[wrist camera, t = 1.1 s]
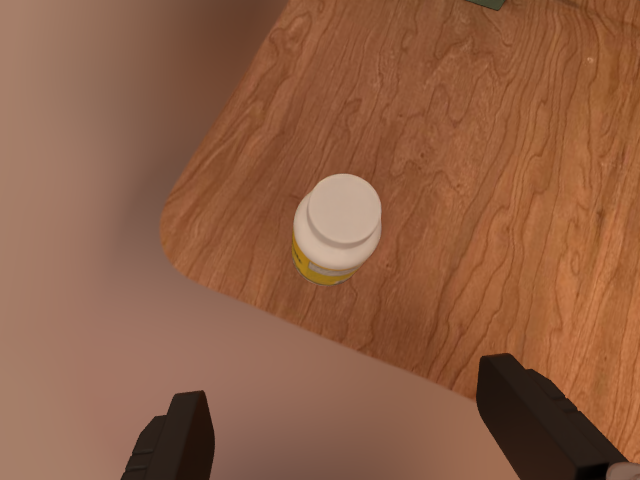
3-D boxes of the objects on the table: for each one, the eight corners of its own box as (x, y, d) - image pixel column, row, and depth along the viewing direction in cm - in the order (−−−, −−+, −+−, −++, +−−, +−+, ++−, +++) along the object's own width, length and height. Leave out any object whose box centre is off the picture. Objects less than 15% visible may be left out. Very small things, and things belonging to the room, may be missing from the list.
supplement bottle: (298, 214, 30) (306, 151, 20) (364, 228, 30) (402, 172, 21) (283, 279, 28) (285, 243, 19) (353, 294, 28) (389, 265, 19)
